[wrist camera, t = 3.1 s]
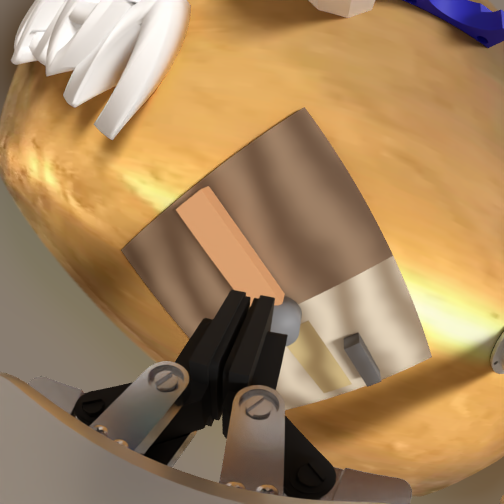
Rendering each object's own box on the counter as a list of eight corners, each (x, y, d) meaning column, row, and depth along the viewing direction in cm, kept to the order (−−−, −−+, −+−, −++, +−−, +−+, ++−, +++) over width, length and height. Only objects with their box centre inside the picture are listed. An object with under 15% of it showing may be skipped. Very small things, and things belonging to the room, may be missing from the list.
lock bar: (309, 320, 30) (307, 338, 27) (274, 335, 32) (269, 352, 29) (213, 182, 27) (200, 187, 24) (180, 208, 29) (165, 215, 26)
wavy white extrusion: (247, 36, 21) (209, -9, 12) (154, 150, 28) (89, 160, 19) (93, -28, 18) (51, -44, 9) (42, 48, 25) (-4, 46, 16)
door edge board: (304, 108, 23) (303, 103, 20) (430, 352, 30) (435, 366, 27) (125, 247, 34) (111, 255, 32) (264, 410, 41) (261, 423, 38)
